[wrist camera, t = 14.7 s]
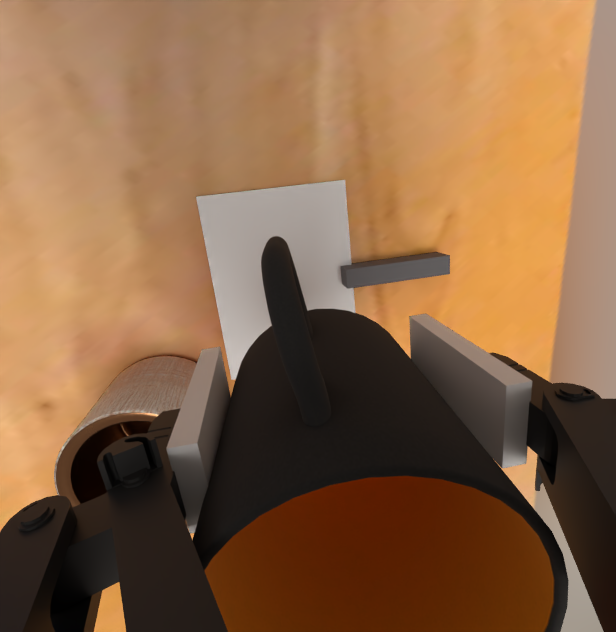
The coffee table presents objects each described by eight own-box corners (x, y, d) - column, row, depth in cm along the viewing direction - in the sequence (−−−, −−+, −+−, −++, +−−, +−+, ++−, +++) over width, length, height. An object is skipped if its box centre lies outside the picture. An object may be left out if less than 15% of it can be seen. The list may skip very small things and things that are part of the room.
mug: (372, 200, 15) (543, 192, 5) (422, 439, 19) (580, 704, 9) (179, 255, 15) (-11, 349, 5) (265, 482, 19) (246, 791, 9)
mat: (196, 196, 29) (196, 196, 29) (343, 180, 30) (344, 179, 30) (231, 377, 34) (231, 379, 34) (357, 357, 35) (358, 358, 35)
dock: (339, 265, 32) (377, 291, 22) (436, 252, 33) (515, 271, 23) (358, 486, 40) (394, 581, 29) (438, 470, 40) (499, 557, 30)
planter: (114, 343, 32) (57, 397, 22) (240, 363, 34) (235, 421, 25) (101, 450, 34) (46, 538, 25) (219, 463, 36) (207, 549, 27)
